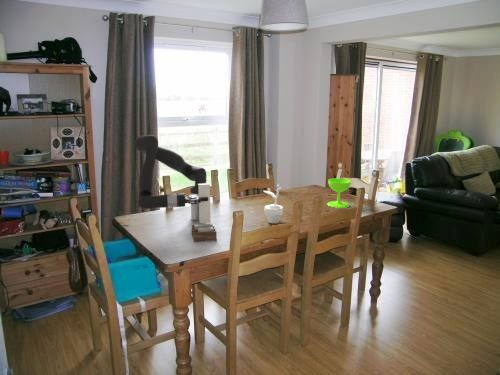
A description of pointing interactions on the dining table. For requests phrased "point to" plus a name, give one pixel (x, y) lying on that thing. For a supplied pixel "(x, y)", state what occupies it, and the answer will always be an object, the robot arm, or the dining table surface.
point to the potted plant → (273, 208)
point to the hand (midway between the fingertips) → (207, 198)
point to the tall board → (204, 203)
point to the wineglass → (339, 186)
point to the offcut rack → (203, 235)
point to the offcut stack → (204, 227)
